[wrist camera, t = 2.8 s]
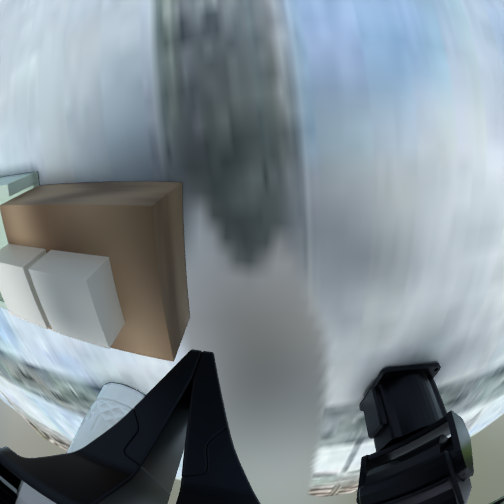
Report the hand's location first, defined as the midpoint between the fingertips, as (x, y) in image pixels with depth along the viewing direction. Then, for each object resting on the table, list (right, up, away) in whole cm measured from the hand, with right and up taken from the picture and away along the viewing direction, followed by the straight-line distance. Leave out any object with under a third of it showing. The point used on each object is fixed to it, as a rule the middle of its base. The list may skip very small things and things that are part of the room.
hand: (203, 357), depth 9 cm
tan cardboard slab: (-8, +4, +6) cm, 11 cm away
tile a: (-7, +2, +3) cm, 8 cm away
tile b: (-11, +2, +3) cm, 12 cm away
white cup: (-12, -12, +16) cm, 23 cm away
